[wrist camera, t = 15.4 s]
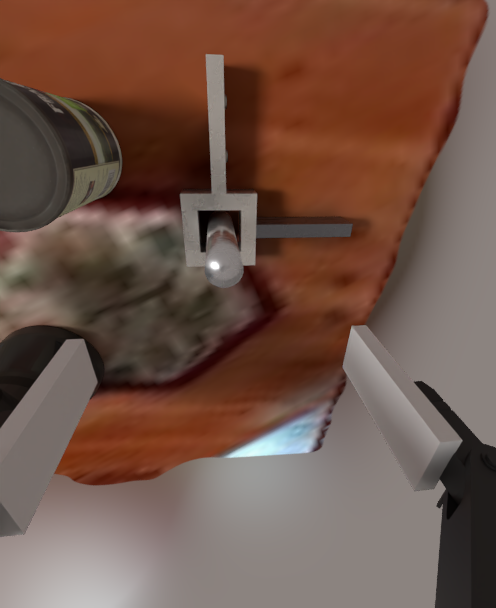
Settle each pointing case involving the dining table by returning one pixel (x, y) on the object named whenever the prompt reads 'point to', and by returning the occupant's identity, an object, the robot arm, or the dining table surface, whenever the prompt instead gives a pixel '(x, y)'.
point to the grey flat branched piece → (239, 193)
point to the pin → (222, 252)
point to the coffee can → (51, 157)
